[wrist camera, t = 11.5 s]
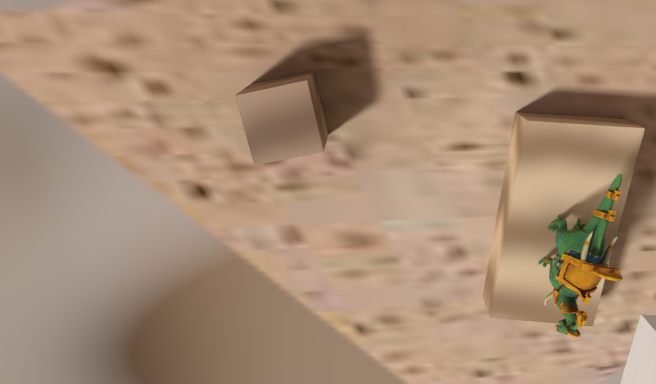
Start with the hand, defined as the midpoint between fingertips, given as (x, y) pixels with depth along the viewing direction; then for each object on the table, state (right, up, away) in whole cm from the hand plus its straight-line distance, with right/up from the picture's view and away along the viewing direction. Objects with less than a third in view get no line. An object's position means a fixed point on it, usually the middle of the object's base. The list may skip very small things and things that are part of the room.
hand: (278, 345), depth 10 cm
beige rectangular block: (+19, +1, +32) cm, 37 cm away
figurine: (+18, 0, +29) cm, 35 cm away
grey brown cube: (-2, +9, +31) cm, 32 cm away
